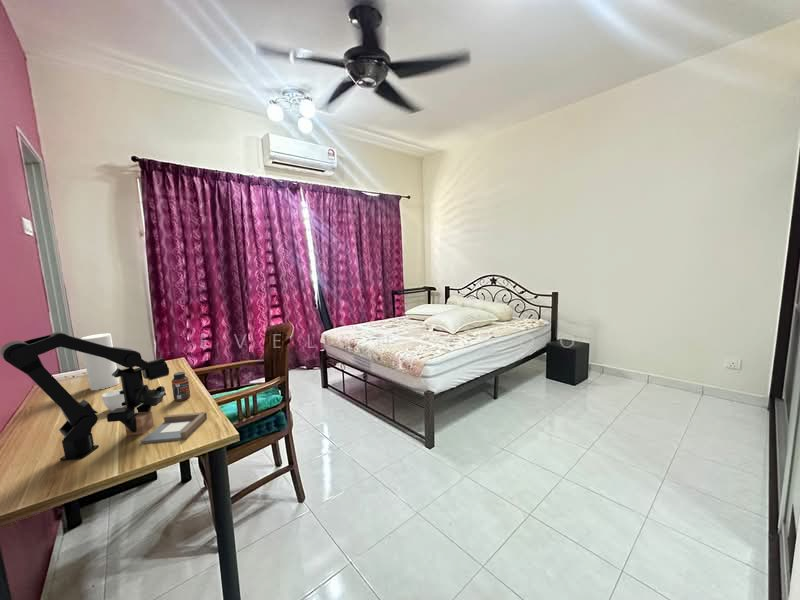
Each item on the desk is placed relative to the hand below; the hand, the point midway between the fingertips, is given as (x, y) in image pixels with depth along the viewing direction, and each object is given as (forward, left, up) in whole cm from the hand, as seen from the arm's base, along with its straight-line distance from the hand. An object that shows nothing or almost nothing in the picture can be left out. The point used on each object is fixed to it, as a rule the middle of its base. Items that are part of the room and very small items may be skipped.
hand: (140, 427), depth 115 cm
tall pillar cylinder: (+50, +49, -1) cm, 70 cm away
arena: (-2, -13, -1) cm, 13 cm away
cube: (0, 0, -1) cm, 1 cm away
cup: (+22, +22, -1) cm, 31 cm away
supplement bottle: (+26, 0, -1) cm, 26 cm away
